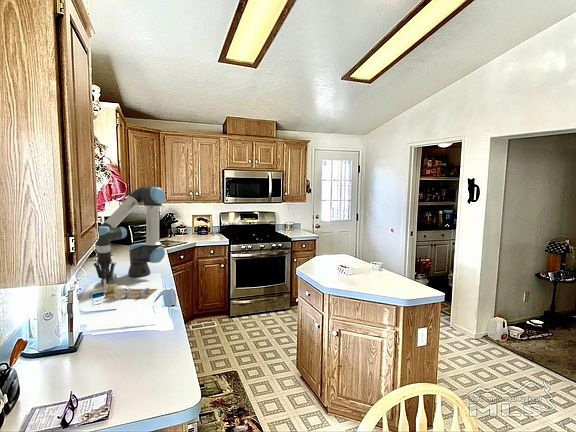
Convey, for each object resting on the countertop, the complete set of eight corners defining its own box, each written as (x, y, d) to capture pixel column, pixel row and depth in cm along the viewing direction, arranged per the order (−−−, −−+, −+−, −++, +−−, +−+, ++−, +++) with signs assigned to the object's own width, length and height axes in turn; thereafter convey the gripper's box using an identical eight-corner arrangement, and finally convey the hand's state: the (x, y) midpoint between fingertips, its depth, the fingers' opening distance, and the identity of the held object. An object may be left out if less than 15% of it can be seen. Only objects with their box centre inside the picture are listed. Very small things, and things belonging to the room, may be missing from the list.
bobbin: (117, 294, 212) (117, 285, 211) (129, 294, 212) (128, 285, 211) (112, 299, 205) (111, 289, 204) (123, 299, 205) (123, 289, 204)
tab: (111, 290, 220) (111, 284, 220) (118, 290, 220) (117, 284, 220) (107, 292, 215) (107, 286, 215) (114, 292, 215) (113, 286, 215)
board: (112, 290, 223) (112, 288, 223) (157, 290, 223) (157, 288, 223) (96, 300, 205) (96, 298, 205) (146, 300, 205) (146, 299, 205)
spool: (115, 282, 228) (108, 269, 229) (102, 290, 227) (94, 276, 227) (122, 281, 242) (115, 268, 242) (109, 288, 240) (102, 275, 241)
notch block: (129, 293, 214) (129, 287, 214) (149, 293, 214) (149, 287, 214) (123, 298, 206) (122, 292, 206) (143, 298, 206) (143, 292, 206)
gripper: (89, 253, 211) (92, 290, 214) (111, 253, 211) (113, 290, 214) (96, 250, 219) (99, 286, 222) (117, 250, 219) (119, 287, 221)
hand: (106, 288), depth 218 cm, fingers closed
